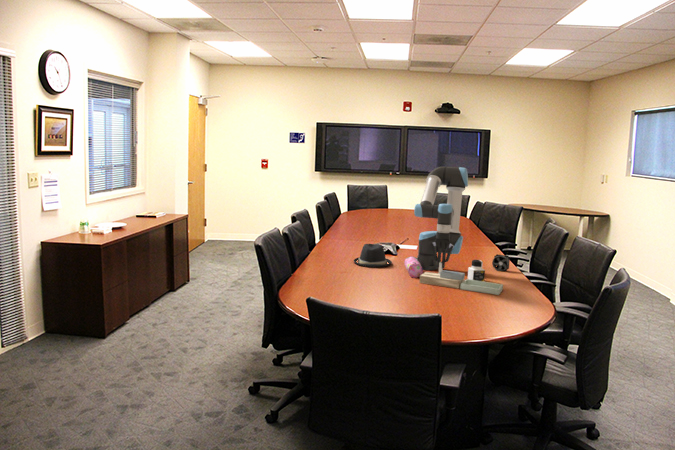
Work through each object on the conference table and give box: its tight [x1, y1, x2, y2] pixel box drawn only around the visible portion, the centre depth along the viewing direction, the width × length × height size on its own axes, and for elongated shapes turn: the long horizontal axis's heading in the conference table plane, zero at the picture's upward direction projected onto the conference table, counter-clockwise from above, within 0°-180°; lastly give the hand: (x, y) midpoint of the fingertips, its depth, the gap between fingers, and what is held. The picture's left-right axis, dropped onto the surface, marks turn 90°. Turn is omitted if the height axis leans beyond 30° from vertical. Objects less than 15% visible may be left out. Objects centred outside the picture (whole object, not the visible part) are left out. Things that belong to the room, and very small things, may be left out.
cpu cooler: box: [491, 254, 511, 272], centre depth 326 cm, size 10×6×10 cm, turn 62°
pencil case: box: [404, 256, 424, 279], centre depth 307 cm, size 21×9×9 cm, turn 178°
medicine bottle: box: [467, 259, 486, 282], centre depth 296 cm, size 7×7×12 cm
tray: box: [459, 278, 504, 296], centre depth 277 cm, size 13×20×3 cm, turn 63°
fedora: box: [353, 243, 393, 268], centre depth 331 cm, size 25×27×12 cm
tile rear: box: [440, 270, 454, 279], centre depth 285 cm, size 6×6×3 cm
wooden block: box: [418, 271, 465, 290], centre depth 287 cm, size 12×22×4 cm, turn 63°
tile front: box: [451, 271, 466, 281], centre depth 282 cm, size 6×6×3 cm
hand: (440, 273), depth 286 cm, fingers closed
